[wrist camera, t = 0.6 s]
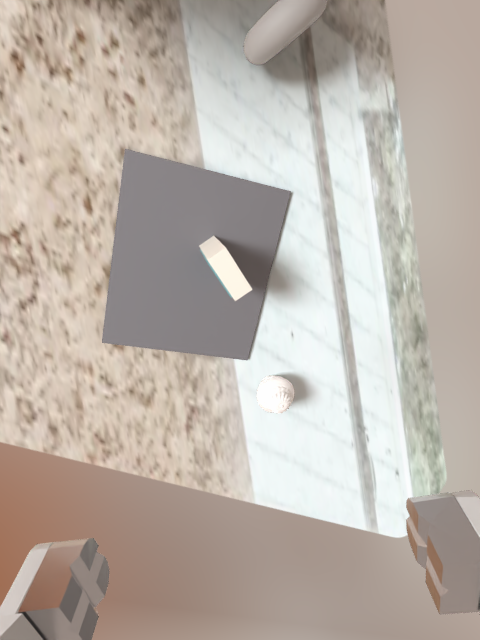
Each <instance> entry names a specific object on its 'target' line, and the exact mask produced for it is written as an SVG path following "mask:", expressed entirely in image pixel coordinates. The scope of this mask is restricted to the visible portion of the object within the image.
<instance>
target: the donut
mask: <svg viewBox="0 0 480 640" xmlns="http://www.w3.org/2000/svg"><path fill="white" fill-rule="evenodd" d="M326 3H327V0H279V1H277V2H276V3H275V4H274V5H273V6H272V7H271V8H270V9H269V10H268V11H267V12H266V13H265V14H264V15H263V16H262V17H261V18H260V19H259V20H258V21H257V22H256V23H255V24H254V26H253V27H252V28H251V29H250V30H249V32H248V33H247V36H246V38H245V40H244V46H243V47H244V53H245V56H246V58H247V59H248V61H249V62H251V63H252V64H255V65H261V64H264V63H266V62H267V61H269V60H270V59H272V58H273V57H274V56H275V55H277V54H278V53H279V52H280V51H282V50H283V49H284V48H285V47H286V46H288V45H289V44H290V43H291V42H292V41H294V40H295V39H296V38H297V37H298V36H299V35H301V34H302V33H303V32H304V31H305V30H306V29H307V28H309V27H310V26H311V25H312V24H313V23H314V22H315V21H316V20H317V19H318V18H319V17H320V16H321V15H322V14H323V12H324V10H325V8H326Z"/></svg>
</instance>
